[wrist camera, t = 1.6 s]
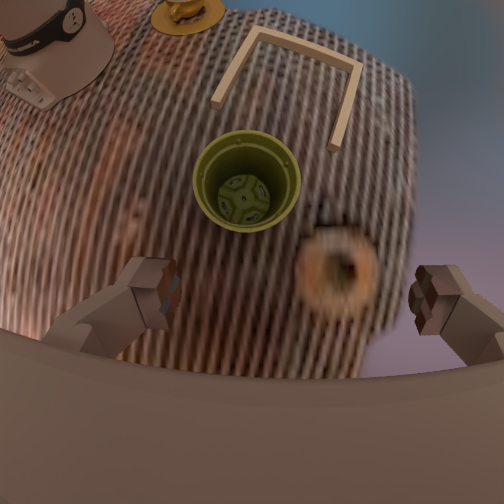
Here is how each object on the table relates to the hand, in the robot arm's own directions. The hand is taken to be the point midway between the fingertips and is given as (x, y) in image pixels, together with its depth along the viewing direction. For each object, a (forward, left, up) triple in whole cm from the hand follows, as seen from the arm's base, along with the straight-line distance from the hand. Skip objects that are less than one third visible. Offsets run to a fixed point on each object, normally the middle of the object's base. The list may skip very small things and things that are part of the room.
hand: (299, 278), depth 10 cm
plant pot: (-4, +7, -24) cm, 26 cm away
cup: (-24, +34, -25) cm, 49 cm away
